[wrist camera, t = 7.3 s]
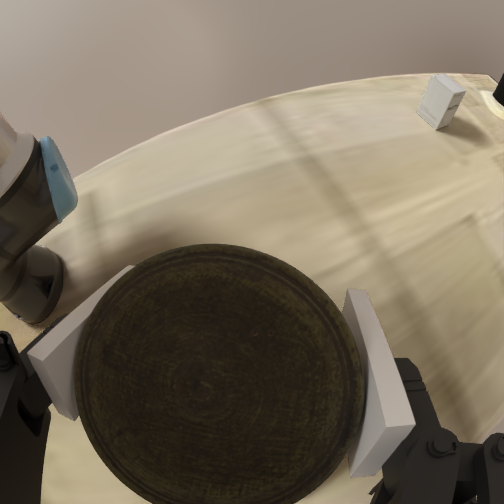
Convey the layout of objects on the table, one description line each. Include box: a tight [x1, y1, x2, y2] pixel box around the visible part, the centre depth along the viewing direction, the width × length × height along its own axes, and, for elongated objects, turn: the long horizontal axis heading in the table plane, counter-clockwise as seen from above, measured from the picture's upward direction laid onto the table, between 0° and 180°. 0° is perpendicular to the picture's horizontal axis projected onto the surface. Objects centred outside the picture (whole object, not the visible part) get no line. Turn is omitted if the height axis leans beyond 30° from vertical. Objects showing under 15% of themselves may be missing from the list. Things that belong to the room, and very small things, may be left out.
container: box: [74, 244, 364, 504], centre depth 15 cm, size 9×9×18 cm
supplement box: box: [416, 74, 466, 130], centre depth 50 cm, size 7×7×13 cm
